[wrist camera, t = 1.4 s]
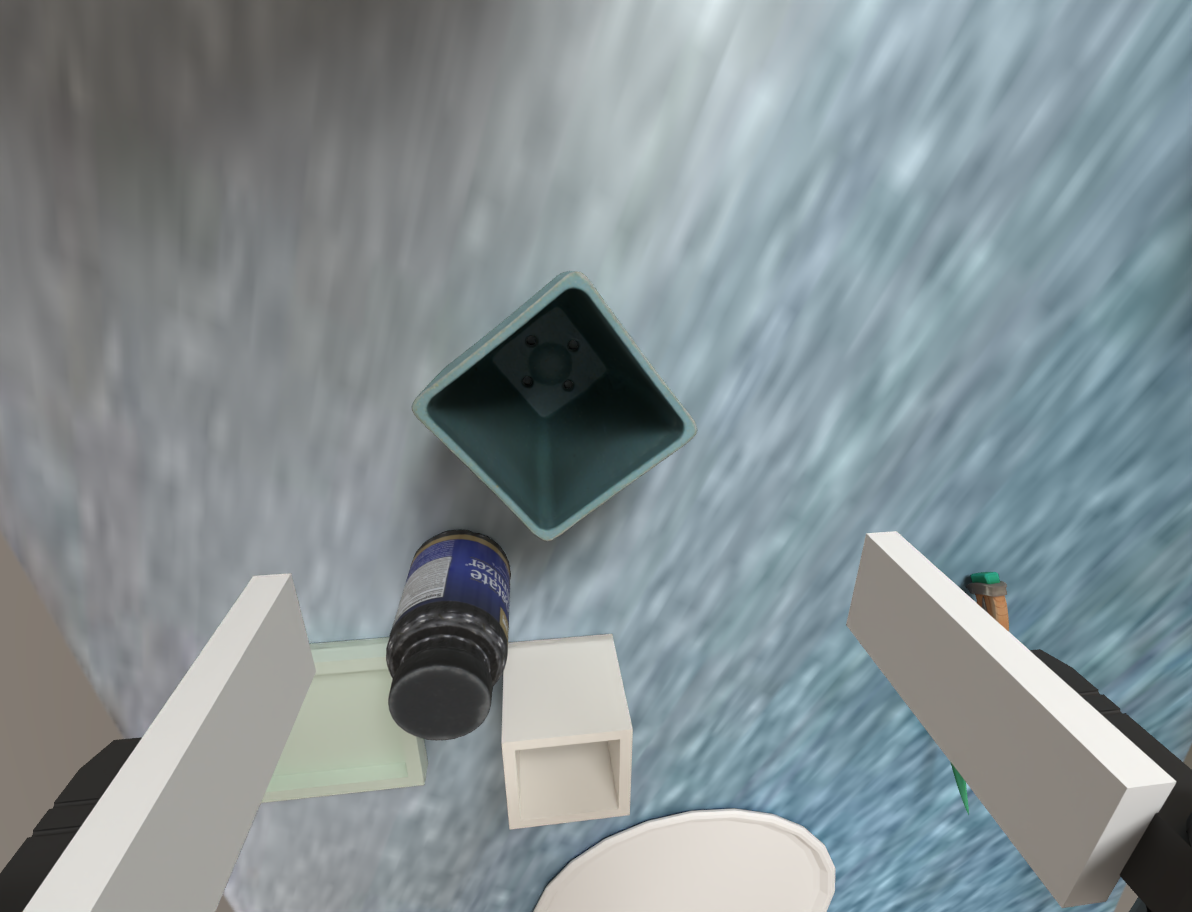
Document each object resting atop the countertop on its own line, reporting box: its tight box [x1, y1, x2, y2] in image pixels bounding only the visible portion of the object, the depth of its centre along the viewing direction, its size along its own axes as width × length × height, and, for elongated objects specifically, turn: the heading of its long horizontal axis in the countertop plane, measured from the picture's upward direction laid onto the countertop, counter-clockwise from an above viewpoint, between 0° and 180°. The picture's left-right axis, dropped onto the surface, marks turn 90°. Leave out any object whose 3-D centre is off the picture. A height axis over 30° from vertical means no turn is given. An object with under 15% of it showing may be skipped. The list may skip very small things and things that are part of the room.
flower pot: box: [412, 271, 697, 541], centre depth 28 cm, size 9×9×9 cm
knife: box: [951, 572, 1009, 815], centre depth 44 cm, size 21×2×5 cm, turn 6°
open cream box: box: [502, 634, 633, 829], centre depth 38 cm, size 7×7×8 cm
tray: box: [261, 637, 428, 803], centre depth 40 cm, size 12×12×2 cm
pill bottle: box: [386, 530, 511, 740], centre depth 32 cm, size 6×6×11 cm
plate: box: [533, 809, 835, 912], centre depth 55 cm, size 29×29×1 cm
